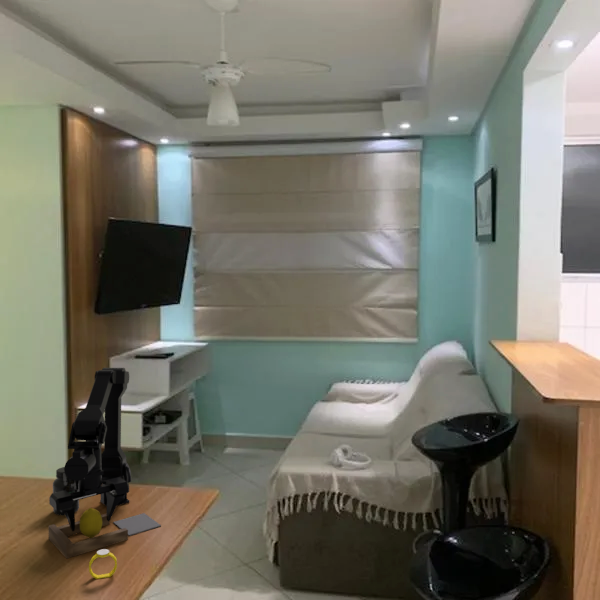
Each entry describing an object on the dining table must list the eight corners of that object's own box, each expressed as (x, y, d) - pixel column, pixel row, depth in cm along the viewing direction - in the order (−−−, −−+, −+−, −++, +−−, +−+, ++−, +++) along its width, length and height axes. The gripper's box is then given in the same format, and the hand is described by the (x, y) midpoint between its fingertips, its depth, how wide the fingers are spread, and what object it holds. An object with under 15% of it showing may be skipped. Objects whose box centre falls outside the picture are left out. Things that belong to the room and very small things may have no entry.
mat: (144, 514, 172) (144, 513, 172) (160, 526, 164) (160, 525, 164) (113, 523, 166) (113, 521, 166) (129, 536, 158) (129, 535, 158)
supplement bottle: (48, 511, 173) (47, 470, 172) (70, 503, 179) (69, 463, 178) (62, 518, 169) (61, 475, 168) (84, 509, 174) (83, 468, 174)
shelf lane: (107, 522, 167) (107, 509, 166) (127, 539, 157) (127, 526, 156) (48, 539, 157) (48, 525, 156) (66, 558, 147) (66, 544, 146)
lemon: (107, 535, 159) (106, 505, 158) (93, 544, 154) (92, 513, 153) (89, 532, 161) (88, 502, 160) (75, 541, 155) (74, 510, 155)
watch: (116, 573, 141) (117, 547, 141) (116, 579, 138) (118, 553, 138) (88, 575, 139) (89, 549, 139) (88, 581, 136) (89, 555, 136)
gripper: (112, 450, 168) (113, 506, 169) (41, 465, 156) (43, 525, 157) (129, 461, 159) (130, 519, 161) (56, 478, 147) (57, 540, 149)
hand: (91, 525), depth 157 cm, fingers open, 9 cm apart
